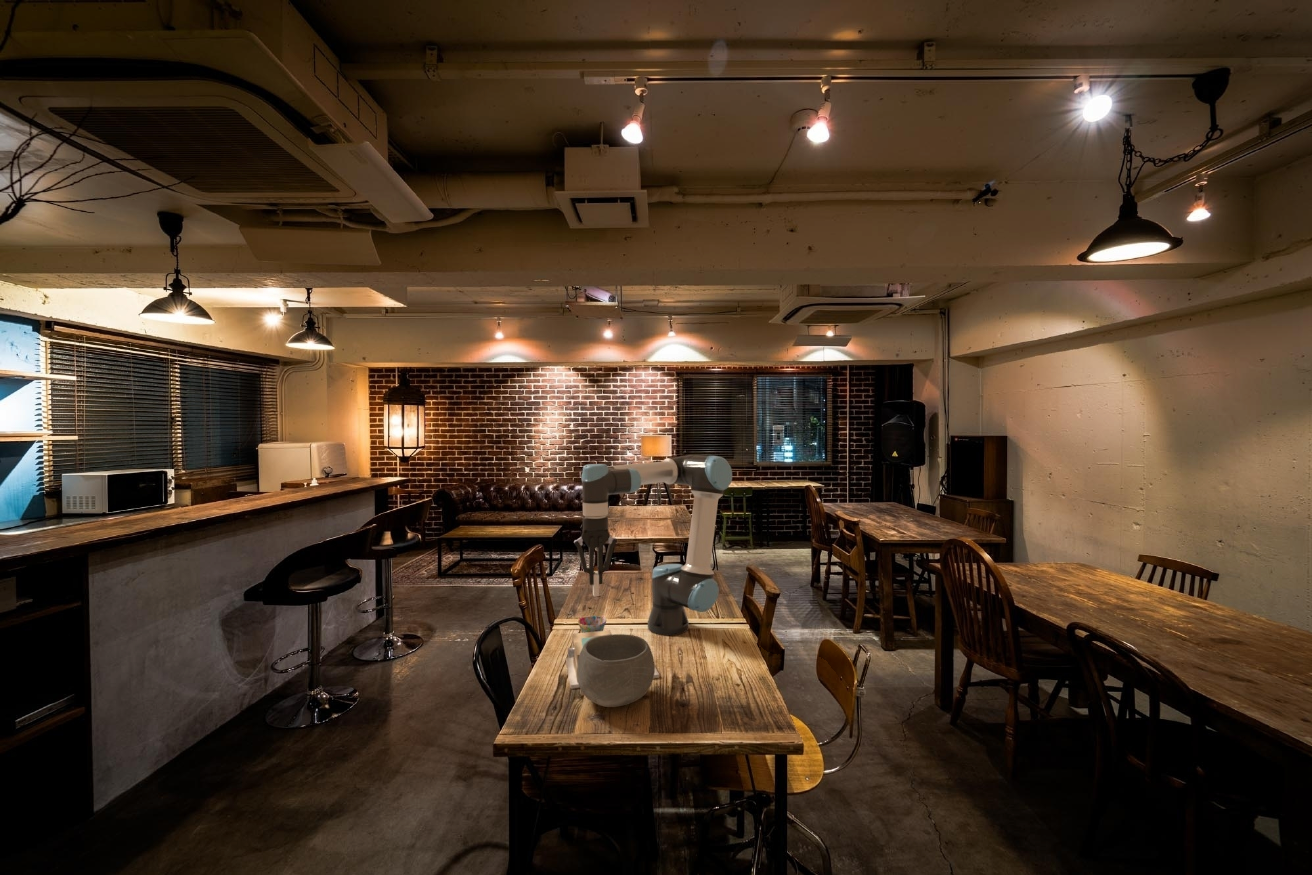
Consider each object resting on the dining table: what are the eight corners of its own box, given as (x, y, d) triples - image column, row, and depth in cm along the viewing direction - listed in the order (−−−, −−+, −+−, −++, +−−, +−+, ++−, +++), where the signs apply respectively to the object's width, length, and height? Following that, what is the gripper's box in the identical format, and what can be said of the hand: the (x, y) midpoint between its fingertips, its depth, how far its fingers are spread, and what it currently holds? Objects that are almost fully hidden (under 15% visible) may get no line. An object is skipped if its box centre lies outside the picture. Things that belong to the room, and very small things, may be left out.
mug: (602, 659, 166) (602, 626, 166) (574, 657, 167) (574, 624, 167) (611, 644, 178) (611, 613, 177) (585, 642, 179) (585, 612, 179)
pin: (615, 651, 165) (615, 637, 165) (618, 657, 160) (618, 643, 160) (567, 657, 161) (567, 642, 161) (568, 663, 157) (568, 648, 157)
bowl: (662, 686, 149) (662, 634, 149) (644, 726, 128) (644, 666, 128) (592, 678, 154) (592, 627, 153) (564, 716, 133) (564, 658, 133)
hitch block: (645, 652, 171) (645, 625, 171) (659, 677, 154) (659, 647, 154) (565, 661, 165) (565, 633, 165) (570, 688, 147) (570, 657, 147)
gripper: (614, 513, 160) (615, 589, 160) (572, 515, 157) (572, 592, 157) (619, 517, 153) (619, 597, 153) (574, 519, 149) (575, 600, 150)
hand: (595, 594), depth 155 cm, fingers closed
